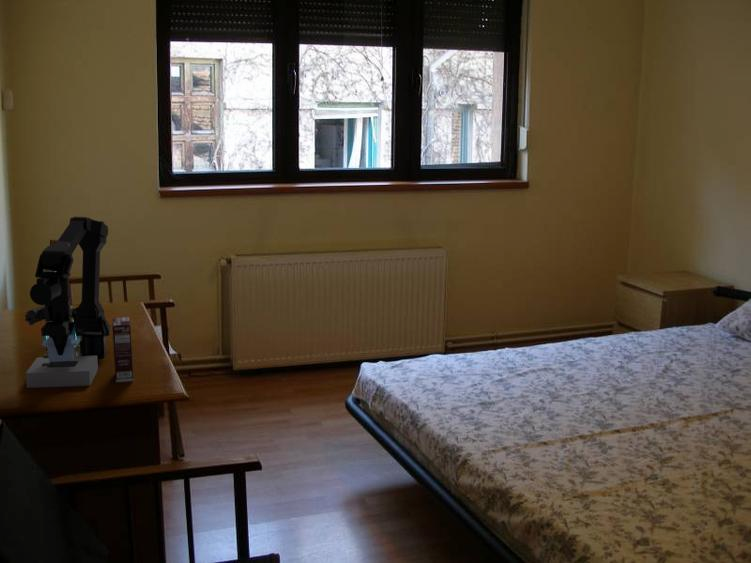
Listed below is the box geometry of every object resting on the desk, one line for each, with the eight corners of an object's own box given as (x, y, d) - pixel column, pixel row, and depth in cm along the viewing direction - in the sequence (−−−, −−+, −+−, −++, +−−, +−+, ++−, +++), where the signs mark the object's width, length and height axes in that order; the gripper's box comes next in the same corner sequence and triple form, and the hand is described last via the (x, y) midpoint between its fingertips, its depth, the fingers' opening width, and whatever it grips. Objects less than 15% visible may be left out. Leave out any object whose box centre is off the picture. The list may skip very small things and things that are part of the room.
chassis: (97, 369, 250) (97, 355, 249) (90, 385, 237) (89, 371, 236) (38, 371, 248) (37, 357, 247) (26, 387, 234) (25, 373, 233)
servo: (80, 355, 244) (79, 334, 242) (78, 360, 240) (76, 338, 238) (45, 356, 242) (44, 335, 241) (42, 361, 238) (41, 339, 237)
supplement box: (114, 373, 247) (111, 317, 244) (132, 371, 248) (130, 316, 245) (115, 383, 239) (112, 325, 236) (133, 381, 240) (131, 324, 237)
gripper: (34, 289, 245) (37, 343, 248) (18, 305, 227) (22, 364, 230) (76, 288, 247) (79, 342, 250) (64, 304, 229) (67, 362, 232)
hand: (62, 352), depth 241 cm, fingers closed on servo, 4 cm apart
